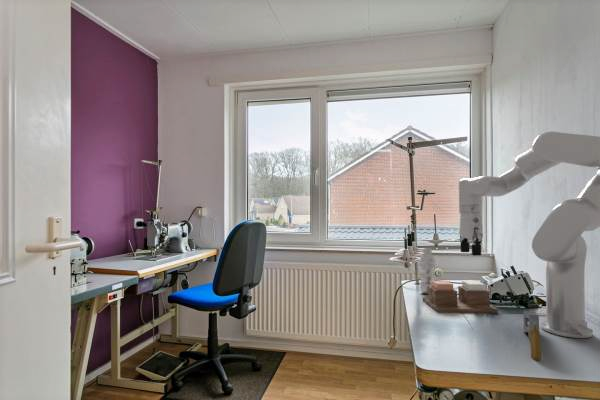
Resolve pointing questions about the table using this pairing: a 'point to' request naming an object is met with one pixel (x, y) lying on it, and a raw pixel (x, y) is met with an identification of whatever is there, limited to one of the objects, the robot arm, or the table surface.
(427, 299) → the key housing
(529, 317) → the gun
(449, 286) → the terracotta key
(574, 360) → the table surface
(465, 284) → the white square block
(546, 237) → the robot arm
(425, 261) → the plastic bottle
